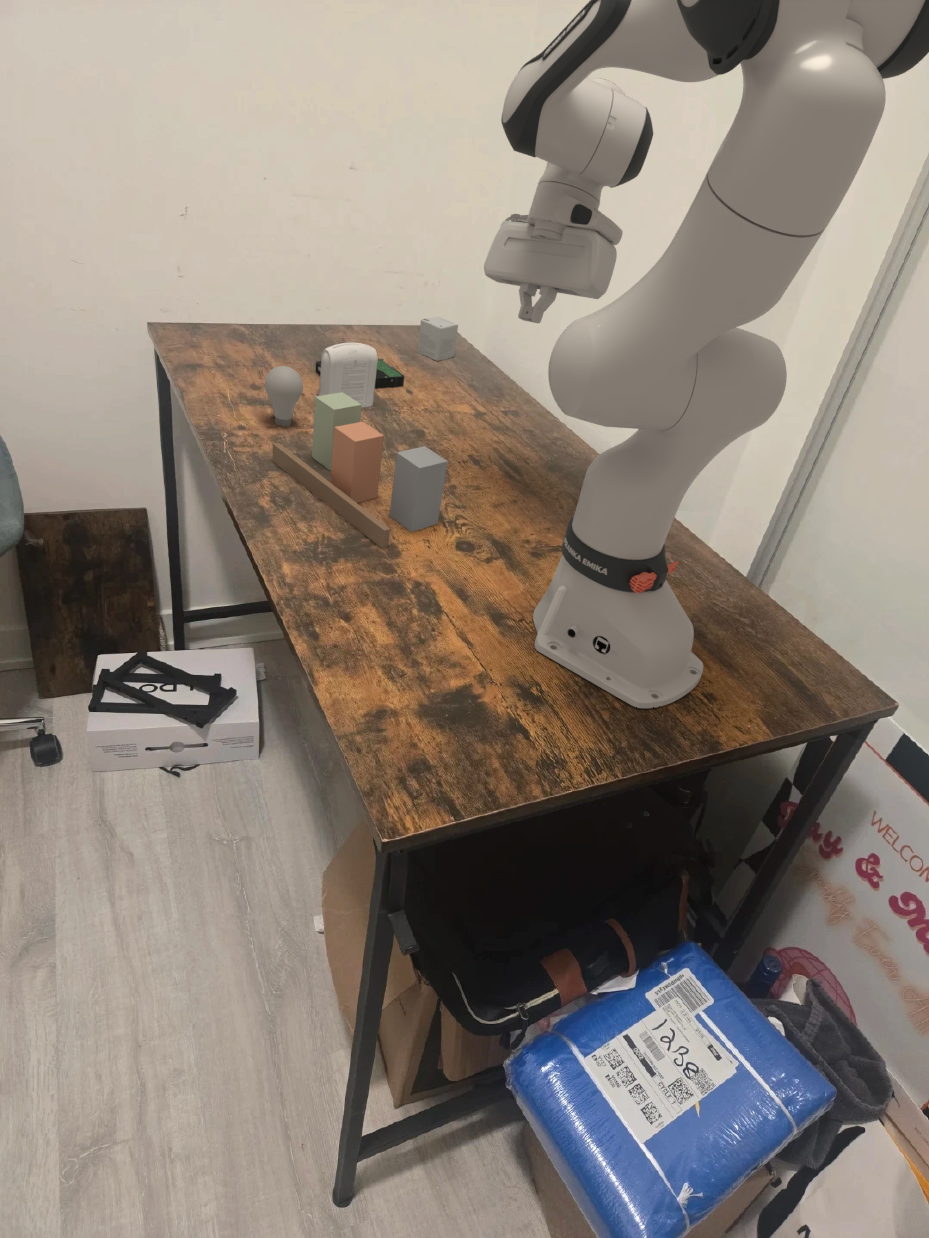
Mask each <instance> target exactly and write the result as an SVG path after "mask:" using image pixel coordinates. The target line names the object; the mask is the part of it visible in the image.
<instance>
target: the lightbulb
mask: <svg viewBox="0 0 929 1238" xmlns="http://www.w3.org/2000/svg"><path fill="white" fill-rule="evenodd" d="M264 387H265V393H266V395H267V396H268V398H269V400H270V402H271V404H272V410H273V416H274V422H275V425H277V426H279V427H285V428H286V427H290V426H291V425H292V418H293V417H294V410H295V407H296V405H297V403H298V401H299V400H300V398H301V396H302V395H303V391H304V383H303V380H302V377H301V375H300V374H299V373H298V371H296V369H294V368H293V367H290V366H287V365H279V366H275V367H274V368H272V369H271V370H270V371H268V373H267V374H266V377H265V380H264Z"/></svg>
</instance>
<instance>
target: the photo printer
mask: <svg viewBox="0 0 929 1238" xmlns="http://www.w3.org/2000/svg"><path fill="white" fill-rule="evenodd" d="M320 358H321V360H320V361H321V373H320V376H319V390H318V396H322V395H328V394H334V393H341V392H343V393H344V394H346V395H348V396H349V397H351V398H352V399H354V400H355V401H357V402H358V403H360V404H361V405H362V407H361V408H367V407H373V406H374V397H375V379H376V370H377V358H378V353H377V350H376V348H374V347H373V346H372V345H368V344H366V343H362V342H343V343H337V344H334V345H331V346H327V347H326V348H324V349H323V351H322V353H321V357H320Z"/></svg>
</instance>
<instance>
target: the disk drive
mask: <svg viewBox="0 0 929 1238" xmlns="http://www.w3.org/2000/svg"><path fill="white" fill-rule="evenodd" d="M315 373H316V374H318V376H319V377H320V373H321V360H316V361H315ZM404 382H405V375H404V374H403V373H401V372H400V371H399V370H397V368H395V367H394V366H391V365H390V364H389V363H387V362H386V361H384V359H383V358H378V357H377V370H376V379H375V389H376V390H377V389H389V388H391V389H393V388H402V387H403V388H404V384H405V383H404ZM375 389H374V390H375Z"/></svg>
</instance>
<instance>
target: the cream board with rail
mask: <svg viewBox="0 0 929 1238" xmlns="http://www.w3.org/2000/svg"><path fill="white" fill-rule="evenodd" d="M271 456H272V458H271V459H272V461H271V462H274V464H276V465H277V466H278V467H280V468H281V469H282V470H283V471H285V472H286V474H288V475H289V476H291V477H292V478H293V479H294V480H296V481H297V482H299V484H301V485H302V486H303V487H305V488H306V489H307V490H309V492H311V493H312V494H313V495H314V496H316V497H317V498H319V500H321V501H322V502H324V503H325V504H326V505H327V506H328V507H330V509H332V510H333V511H334V512H336V513H337V514H338V515H339V516H341V517H342V518H343V519H345V520H346V521H347V522H348V523H350V524H351V525H352V526H354V527H355V528H356V529H357V530H358V531H360V532H361V533H362V534H364V536H366V537H367V538H368V539H370V540H371V541H372V542H373V543H375V544H376V545H377V546H378V547H380V548H381V549H386V548H388V547H389V544H390V543H389V542H390V534H391V528H390V527H389V526H387V525H386V524H384V522H382V521H381V520H380V519H378V518H377V517H375V515H373V514H372V513H370V512H369V511H368V510H367V509H365V508H364V507H363V506H361V505H360V504H359V503H356V502H355V501H354V500H352V499H351V498H350V497H348V496H347V495H346V494H345V493H343V492H342V491H341V490H339V489H338V488H337V487H335V486H334V485H333V484H332V483H331V481H329V480H328V479H326V478H325V477H324V476H323V475H322V474H320V473H319V472H317V471H316V470H315V469H314V468H312V467H311V466H310V465H308V464H307V463H306V462H304V461H303V460H302V459H301V458H299V457H298V456H297V455H295V454H294V453H293V452H291V451H290V450H289V449H287V448H286V447H285V446H284V445H282V443H280V442H273V443H272V454H271Z"/></svg>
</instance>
